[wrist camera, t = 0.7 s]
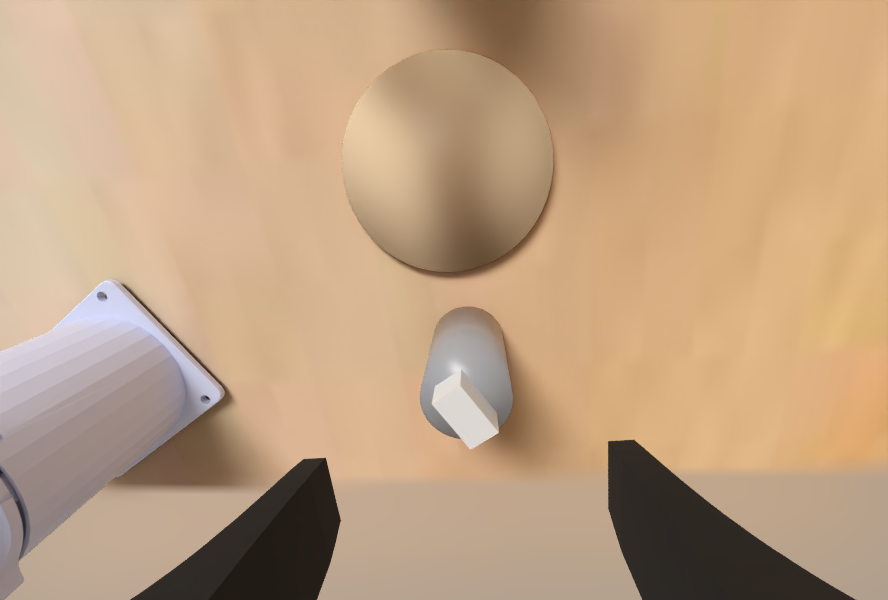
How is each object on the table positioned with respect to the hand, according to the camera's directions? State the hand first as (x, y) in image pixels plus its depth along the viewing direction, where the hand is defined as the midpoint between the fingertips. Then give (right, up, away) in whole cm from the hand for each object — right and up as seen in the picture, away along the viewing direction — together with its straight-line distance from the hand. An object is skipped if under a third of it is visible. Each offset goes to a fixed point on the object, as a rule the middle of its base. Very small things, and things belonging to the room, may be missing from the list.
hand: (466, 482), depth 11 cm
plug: (+1, +3, +10) cm, 10 cm away
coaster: (-1, +10, +8) cm, 13 cm away
